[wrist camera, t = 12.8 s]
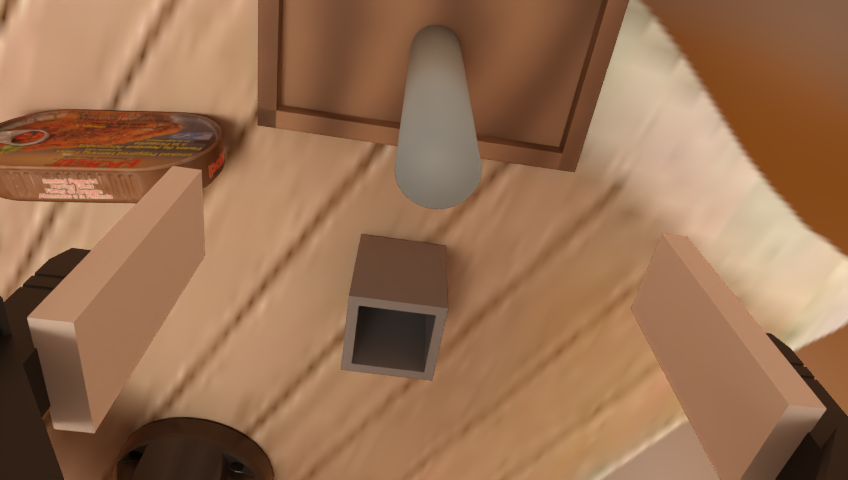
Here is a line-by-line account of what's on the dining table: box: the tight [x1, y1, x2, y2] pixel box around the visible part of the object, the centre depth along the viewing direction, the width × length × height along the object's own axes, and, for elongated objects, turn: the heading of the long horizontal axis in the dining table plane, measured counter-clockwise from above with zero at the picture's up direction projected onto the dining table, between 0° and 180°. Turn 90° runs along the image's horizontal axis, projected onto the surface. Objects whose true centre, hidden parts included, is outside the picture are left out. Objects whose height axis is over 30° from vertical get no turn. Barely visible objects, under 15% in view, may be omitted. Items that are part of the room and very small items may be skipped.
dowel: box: [395, 25, 482, 209], centre depth 29 cm, size 3×3×18 cm
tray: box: [258, 0, 629, 172], centre depth 36 cm, size 22×13×2 cm, turn 81°
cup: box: [341, 234, 448, 381], centre depth 43 cm, size 7×7×8 cm
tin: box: [0, 110, 225, 203], centre depth 37 cm, size 15×3×8 cm, turn 88°
